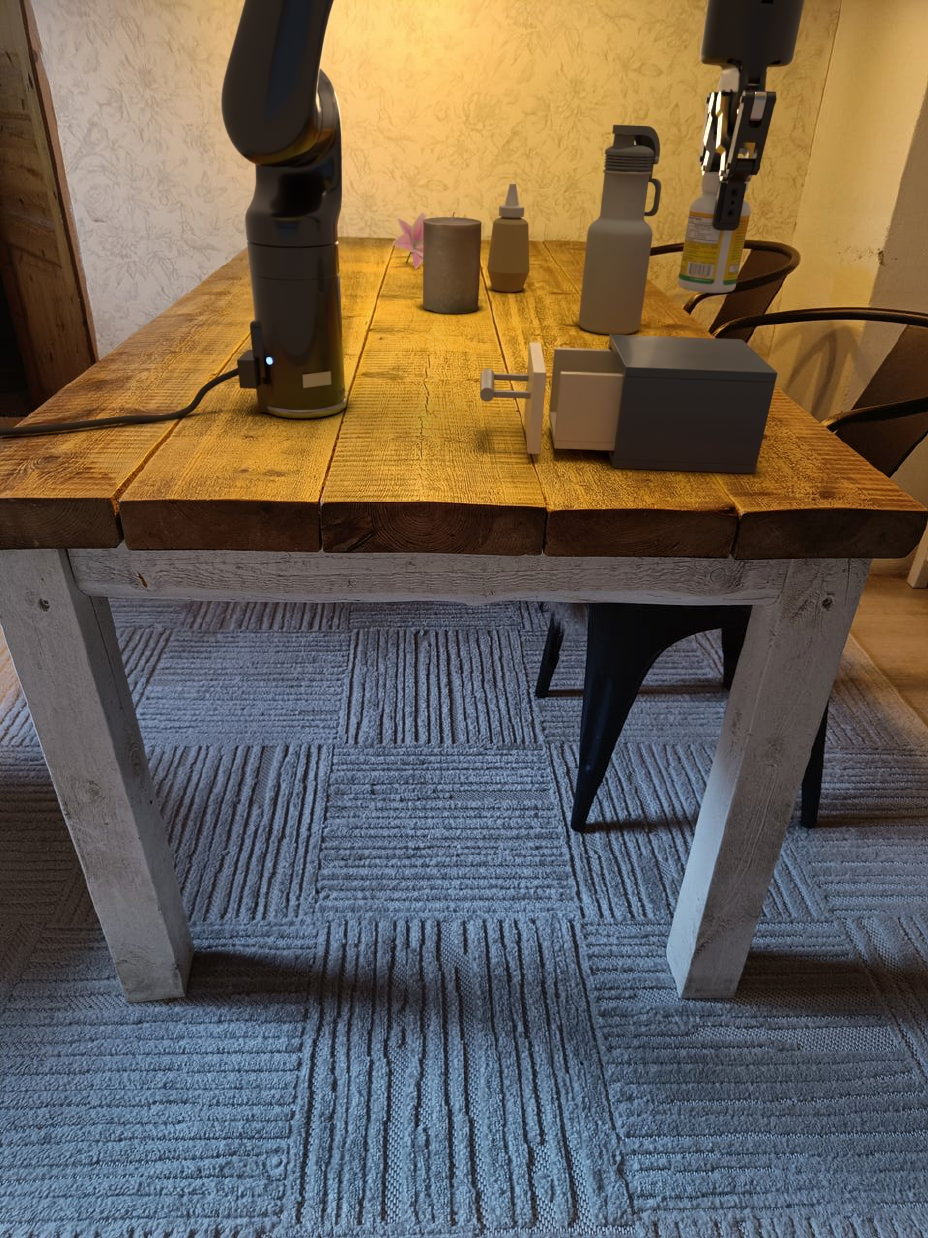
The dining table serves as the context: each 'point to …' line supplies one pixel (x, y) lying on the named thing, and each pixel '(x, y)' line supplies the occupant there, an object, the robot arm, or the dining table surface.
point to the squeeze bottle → (509, 246)
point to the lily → (412, 239)
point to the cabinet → (690, 404)
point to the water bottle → (621, 235)
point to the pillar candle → (451, 264)
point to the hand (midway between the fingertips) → (716, 224)
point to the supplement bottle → (711, 244)
